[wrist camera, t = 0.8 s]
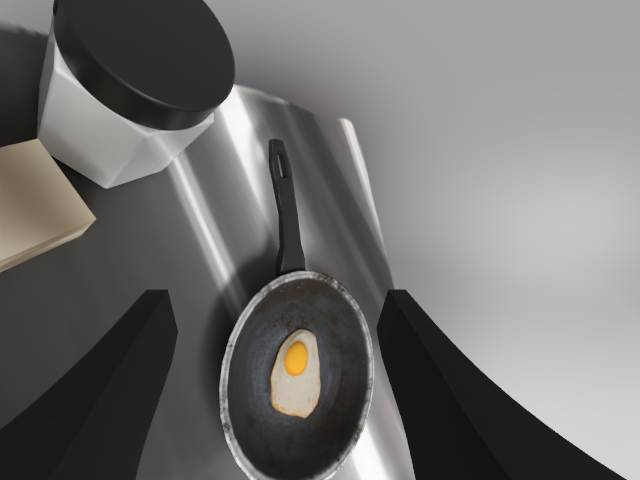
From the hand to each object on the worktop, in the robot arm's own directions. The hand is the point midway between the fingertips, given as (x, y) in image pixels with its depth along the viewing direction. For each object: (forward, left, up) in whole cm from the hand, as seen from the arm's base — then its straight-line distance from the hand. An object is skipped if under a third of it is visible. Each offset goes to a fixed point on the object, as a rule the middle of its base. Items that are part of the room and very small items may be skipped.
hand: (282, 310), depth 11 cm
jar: (+6, +13, -18) cm, 23 cm away
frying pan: (+12, -7, -18) cm, 23 cm away
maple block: (-2, +9, -18) cm, 20 cm away
